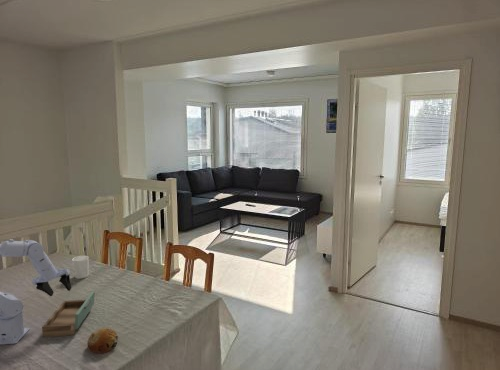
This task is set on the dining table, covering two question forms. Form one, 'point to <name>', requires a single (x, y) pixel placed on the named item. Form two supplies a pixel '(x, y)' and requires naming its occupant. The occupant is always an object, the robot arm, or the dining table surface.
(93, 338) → the bread roll
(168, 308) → the dining table surface
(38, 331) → the dining table surface
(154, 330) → the dining table surface
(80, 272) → the white cup
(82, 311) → the panel
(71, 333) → the tray
